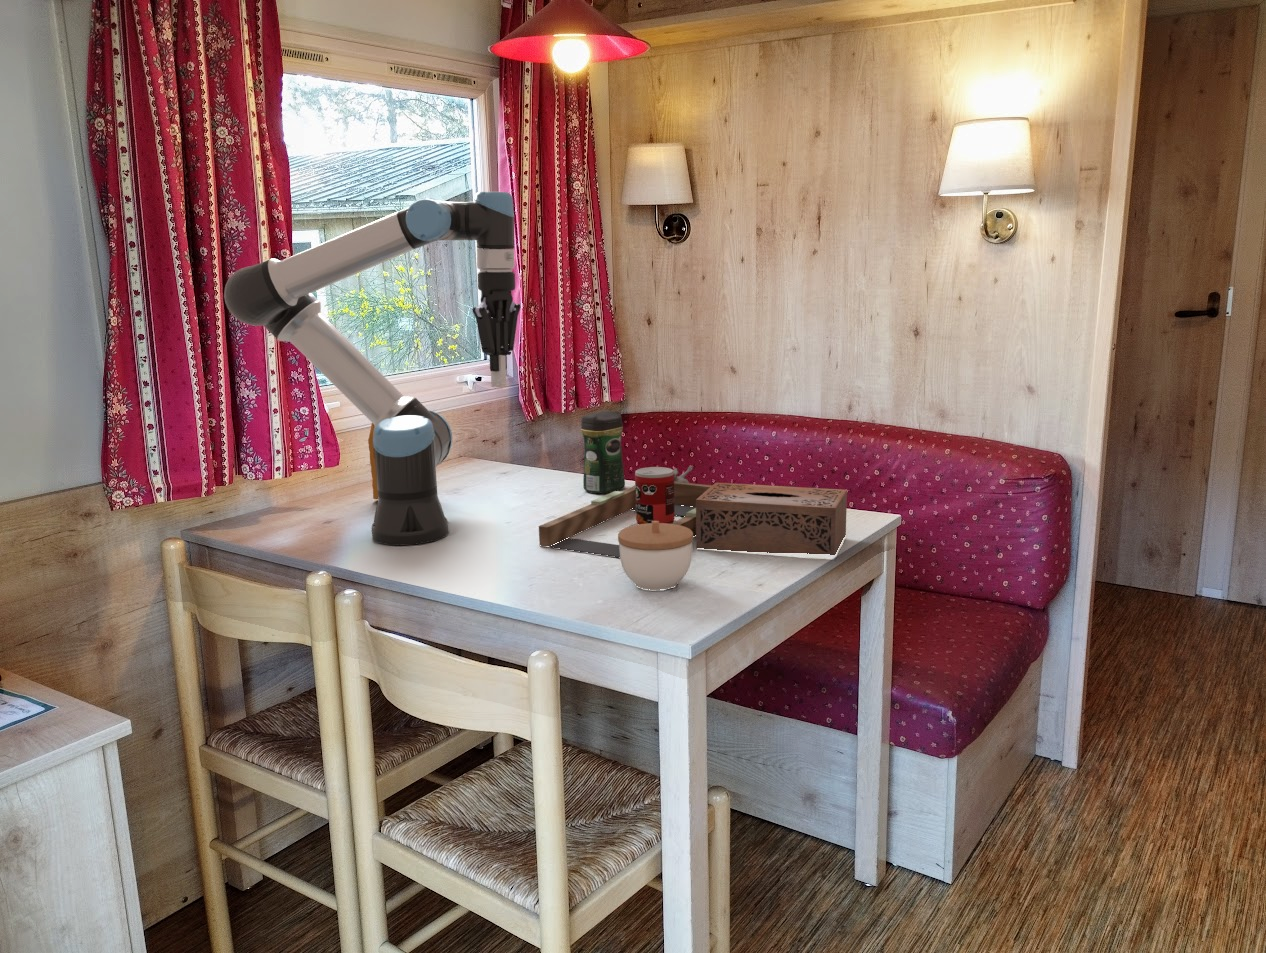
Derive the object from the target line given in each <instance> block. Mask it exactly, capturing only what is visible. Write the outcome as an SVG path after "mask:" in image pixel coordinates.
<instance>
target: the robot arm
mask: <svg viewBox="0 0 1266 953" xmlns="http://www.w3.org/2000/svg"><path fill="white" fill-rule="evenodd" d="M514 213H515V212H514V198H513V196H512V194H511V193H509V192H506V191H478V192H476V193H475V199H474V201H465V202H464V201H443V200H438V199H435V198H432V197H430V198H427V197H424V198H421V199H418V200H416V201H414V202H412V204H411V205H410V206H408V207H404V208H403V209H401V210H398V211H396V212H394V213H391V214H388V215H386V216H383V217H382V218H379V219H377V220H375V221H372V222H370V223H367V224H365V225H362V226H360V227H357V228H355V229H353V230H350V231H349V232H345V233H343V234H341V235H339V236H336V237H334V238H332V239H330V240H327V241H325V242H322V243H320V244H317V245H315V246H313V247H311V248H310V247H309V248H308V249H306V250H304V251H301V252H298V253H296V254H293V255H292V256H289V257H286V258H284V259H281V260H279V259H277V258H270V259H267V260H264V261H262V262H260V263H257V264H254V265H249V266H245V267H242V268H240V269H238V270H236V271H235V272H233V274H231V275H230V276H229V278H228V280H227V281H226V284H225V285H224V286H225V287H224V294H223V297H224V302H225V305H226V308H227V310H228V311H229V313H230V314H231V315H232V316H233V317H234V318H235V319H236V320H238V321H239V322H241V323H242V324H246V325H249V326H254V327H258V326H259V327H260V326H261V327H262V326H263V327H264V328H265V330H266V329H267V331H268V332H269V333H270V334H271V335H272V336H273V337H274V338H275V339H277V340H278V341H279V342H290V343H291V344H292V345H293V346H294V347H295V348H296V349H297V350H298V351H299V352H300V353H301V354H302V355H303V356H304V357H305V358H306V359H307V360H308V361H309V362H310V363H311V364H312V365H313V366H314V367H315V368H316V369H318V371H319V372H320V373H321V374H322V375H324V376H325V377H326V379H327V380H328V381H330V383H332V384H333V385H334V387H336V388H337V389H338V390H339V392H340V393H341V394H343V395H344V396H345V397H346V398H347V399H348V401H349V402H351V403H352V405H354V406H355V408H357V410H359V412H360V413H362V415H364V416H365V417H366V418H367V419H368V421H370V422H371V424H372V423H373V424H374V426H375V428H374V431H373V446H374V453H375V465H376V478H377V489H378V499H377V505H376V508H375V512H374V518H373V523H372V524H371V539H372V540H373V541H374V542H376V543H378V544H381V545H388V546H410V545H411V546H412V545H421V544H427V543H431V542H435V541H438V540H440V539H444V538H445V537H446V536H448V535H449V521H448V518H447V517H446V516H445V513H444V510H443V507H442V503H441V502H440V499H439V496H438V481H437V466H439V465H440V464H442V462H444V461H445V460H446V458H448V456H449V453H450V451H451V447H452V446H453V445H452V444H453V432H452V429H451V427H450V424H449V422H448V421H447V419H445V417H443V416H442V415H441V414H439V413H438V412H436V411H434V410H430V409H428V408H427V407H426V406H425V405H423V404H422V403H421V401H419V400H418V398H417V397H415V396H405V395H404V394H402V393H401V391H399V390H398V388H396V386H395V385H393V383H391V381H389V380H388V378H386V376H384V374H382V372H380V370H379V369H377V367H375V366H374V365H373V364H372V363H371V362H370V361H369V359H367V357H365V355H363V354H362V352H361V351H359V349H357V348H356V346H355V345H353V344H352V343H351V342H350V341H349V340H348V338H346V337H345V335H344V334H342V332H340V331H339V329H337V328H336V326H334V324H332V323H331V322H330V321H329V320H328V319H327V318H326V316H325V315H323V314H322V311H321V306H322V305H321V301H320V300H319V299H318V298H317V297H316V296H315V295H314V294H313V292H316V291H319V290H322V289H323V288H326V287H327V286H331V285H333V284H335V283H337V282H340V281H342V280H344V279H347V278H350V277H351V276H354V275H357V274H359V273H361V272H363V271H364V272H365V271H366V270H368V269H371V268H373V267H376V266H377V265H380V264H382V263H385V262H387V261H390V260H392V259H394V258H397V257H399V256H401V255H404V254H407V253H409V252H411V251H413V250H415V249H419V248H422V247H424V246H426V245H429V244H431V243H433V242H437V241H476V268H477V269H478V270H480V271H479V272H478V273H477V289H478V290H479V291H481V297H480V303H479V304H478V306H473V307H472V313H473V315H474V317H475V320H476V325H477V331H478V338H479V341H480V346H481V351H482V353H484V354H485V355H486V356H489V369H490V379H491V384H490V385H491V387H492V388H501V389H502V388H505V387H507V368H508V366H507V365H508V363H507V362H508V360H507V359H508V358H507V356H511V354H512V351H513V350H514V348H515V341H516V340H515V339H516V332H517V324H518V316H519V313H520V311H521V307H522V306H521V304H519V303H515V301H513V300H514V298H513V297H514V296H513V295H512V291H515V290H516V273H515V272H514V271H512V270H513V269H515V268H516V266H515V264H516V263H515V214H514Z"/></svg>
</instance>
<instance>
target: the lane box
mask: <svg viewBox="0 0 1266 953" xmlns="http://www.w3.org/2000/svg"><path fill="white" fill-rule="evenodd" d="M712 485H713V484H712ZM712 485H711V484H701V483H693V482H692V483H691V482H689V483H684V482H674V505H684V506H693V507H696V499H697V498H699V497H700V496H701V495H702V494H703V493H704V492H705V491H707V490H708V489H709V488H710V487H711V486H712ZM635 507H636V495H635V485H633V486H630V487H628V488H626V489H624V490H620V491H619V490H617V491H613V492H610V493H606V494H605V495H603V496H600V497H598V498H596V499H595V498H594V499H593V500H591V502H590V504H588V505H586V506H583V507H581V508H579V509H576V510H574V511H571V512H569V513H567V514H564V515H562V516H559V517H556V518H554V519H553V520H550V521H548V522H545V523H543V524H541V525H539V526H538V536H539V537H538V538H539V540H538V541H539V546H540V545H541V546H551V545H553V544H555V543H557V542H560V541H562V540H564V539H566V538H568V537H570V538H572V537H574V536H573V535H575V534H577V533H579V532H581V531H583V532H585V531H584V530H586V529H588V528H590V527H592V526H594V527H596V526H598V525H597V524H599V523H601V522H603V521H605V522H607V521H608V520H607V519H610V518H612V519H613V517H614V518H616V517H618V516H620V515H622V514H621V513H623V514H625V513H627V512H629V511H631V510H630V509H632V508H635ZM628 510H629V511H628ZM626 511H627V512H626ZM624 512H625V513H624ZM619 514H620V515H619ZM617 515H618V516H617ZM615 516H616V517H615ZM606 520H607V521H606ZM610 520H611V519H610ZM603 523H604V522H603ZM601 524H602V523H601ZM671 524H676V525H681V526H684V527H687V528H689V529H690V530H691V531H692V532H693V536H695V535H696V508H694V509H692V510H691V511H689V512H687V513H686V516H685V517H680V518H679V519H677V520H676V521H675V520H674V522H673V523H671ZM595 525H596V526H595ZM599 525H600V524H599ZM592 528H593V527H592ZM590 529H591V528H590ZM588 530H589V529H588ZM586 531H587V530H586ZM581 533H582V532H581ZM579 534H580V533H579ZM577 535H578V534H577ZM571 536H572V537H571ZM575 536H576V535H575ZM541 546H540V547H541Z"/></svg>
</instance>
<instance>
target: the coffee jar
mask: <svg viewBox="0 0 1266 953" xmlns="http://www.w3.org/2000/svg"><path fill="white" fill-rule="evenodd" d="M580 427H581V429H580V430H581V434H582V437H583V442H584V443H583V444H584V446H583V447H584V459H583V460H584V463H583V465H584V466H583V484H582V485H583V489H584V491H586V492H587V491H588V493H589V492H592V493H591V494H594V493H595V494H609V493H608V492H610V493H612V492H614V491H616V490H617V491H619V490H620V491H621V489H624V488H625V486H626V480H625V472H624V471H625V470H624V469H625V468H624V464H623V452H622V451H623V450H622V433H623V429H624V427H623V418H622V415H621V414H620V412H619V411H615V410H614V411H613V410H602V411H597V412H593V413H588V414H584V415H583V416H582V417H581V425H580Z"/></svg>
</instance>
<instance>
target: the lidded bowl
mask: <svg viewBox="0 0 1266 953" xmlns="http://www.w3.org/2000/svg"><path fill="white" fill-rule="evenodd" d="M693 540H694V538H693V532H692V531H691V530H690V529H689V528H687V527H684V526H681V525H676V524H667V523H659V521H652V523H647V524H634V525H631V526H627V527H625V528H623V529H621V530H619V532H618V534H617V542H618V545H619V552H620V558H619V559H620V563H621V567H622V569H623V571H624V573H625V575H626V577H628V579H629V580H630V581H631V582H632V583H634V585H635V584H636V586H638V587H640V588H643V589H648V590H649V589H650V590H660V589H668V588H671V587H674V586H676V585H677V583H678V584H679V583H680V582H681V581H682V580H683V579H684V577H685V576H686V575H687V573H688V572H689V569H690V567H691V563H692V559H693V558H692V557H693ZM636 586H635V587H636ZM677 586H678V585H677ZM677 586H676V587H677Z"/></svg>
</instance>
